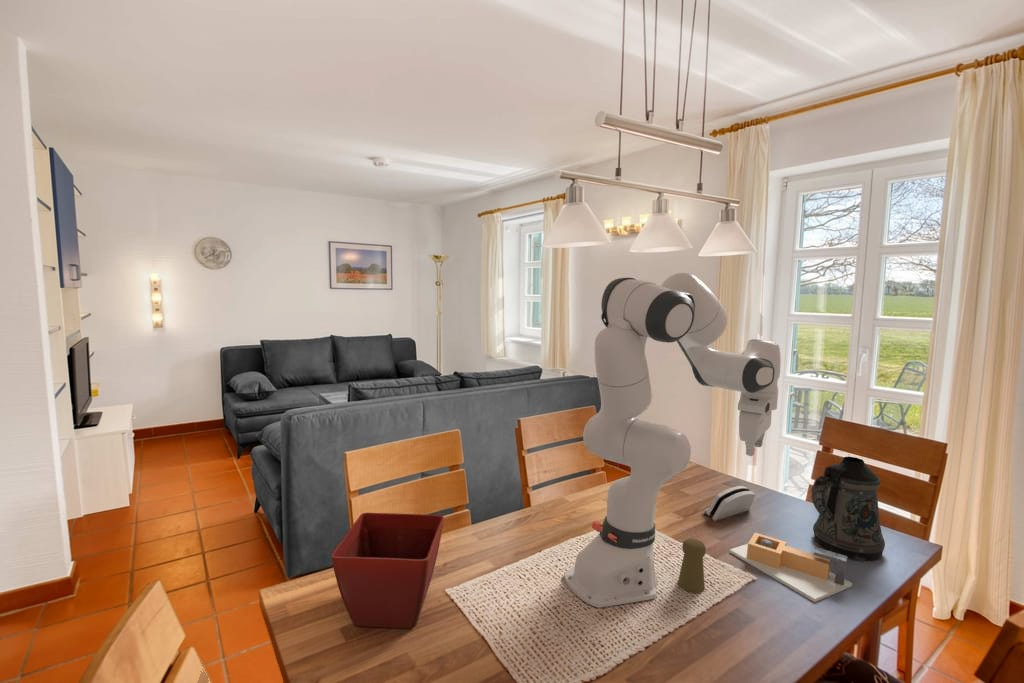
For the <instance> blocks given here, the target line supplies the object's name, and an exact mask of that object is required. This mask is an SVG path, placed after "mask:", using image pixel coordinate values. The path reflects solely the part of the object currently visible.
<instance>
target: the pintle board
mask: <svg viewBox="0 0 1024 683" xmlns="http://www.w3.org/2000/svg"><path fill="white" fill-rule="evenodd" d="M761 545H762V546H765V547H768V548H771V549H772V542H771V541H769V540H766V539H763V540H761ZM747 549H748V543H746V544H743V545H739V546H736V547H733V548H730V549H729V553H730V554H732V555H734V556H735V557H737V558H738V559H741V560H742V561H744V562H745V563H746V564H747V563H748V564H749V565H750V566H752V567H754V568H756V569H757V570H759V571H761V572H762V573H764V574H766V575H768V576H769V577H771V578H773V579H774V580H776V581H777V582H779V583H781V584H783V585H785V586H786V587H788V588H790V589H792V590H793V591H794V592H796V593H798V594H800V595H802V597H805V598H807V599H808V600H811V601H812V602H813V603H817V602H818V601H821V600H823V599H825V598H828V597H831V596H832V595H835V594H838V593H839V592H842V591H844V590H846V589H849V588H851V587H853V582H851V581H850V580H847V579H845V581H844V586H843V585H840V584H837V583H835V574H836V573H835V572H834V573H833V572H831V571H830V570H829V576H828V580H825V579H822V578H818V577H815V576H812V575H809V574H806V573H803V572H800V571H797V570H794V569H791V568H788V567H785V566H782V565H781V566H780V569H778V568H775V567H772V566H769V565H766V564H763V563H760V562H757V561H754V560H751V559H748V558H747Z"/></svg>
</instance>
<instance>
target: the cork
mask: <svg viewBox="0 0 1024 683" xmlns="http://www.w3.org/2000/svg"><path fill="white" fill-rule="evenodd" d="M706 548H707V547H706V545H705V544H704V542H703V541H701V540H700V539H697V538H685V539H684V541H683V542H682V549H681V550H682V552H683V553H684V554H683V557H682V558H683V559H682V562H681V566H680V567H681V568H680V571H679V576H678V580H677V585H678V586H679V588H681V589H682V590H684V591H685V590H686V592H688V593H691V592H692V593H691V594H700V593H703V592H704V591H705V588H706V587H705V586H706V585H705V572H704V557H705V555H706V552H707V551H706V550H707V549H706Z"/></svg>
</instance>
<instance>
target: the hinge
mask: <svg viewBox="0 0 1024 683" xmlns="http://www.w3.org/2000/svg"><path fill="white" fill-rule="evenodd" d="M755 497H756V494H755V493H754V491H751V490H750V488H748V487H746V486H742V485H737V486H734V487H730V488H727V489H726V490H724V491H721V492H719V493H718V494H716V496H714V499H713V500H712V501H711V504H710V505H709V507H708V508H705V509H703V511H702V515H706V514H707V515H708V516H711V517H712V520H713V521H715V522H716V521H720V520H722V519H726V518H729V517H732V516H735V515H738V514H742V513H745V512H748V511H750V510H751V507H752V504H753V502H754V500H755Z"/></svg>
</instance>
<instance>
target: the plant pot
mask: <svg viewBox="0 0 1024 683" xmlns="http://www.w3.org/2000/svg"><path fill="white" fill-rule="evenodd" d="M444 518H445V517H444V516H443V515H440V514H424V513H423V514H421V513H420V514H419V513H418V514H417V513H415V514H414V513H395V512H394V513H393V512H391V513H390V512H389V513H388V512H386V513H385V512H363V513H361V514H360V515H359V516H358V518H357V519H356V521H355V522H354V523H353V525H352V526H351V528H349V530H348V531H347V533H346V534H345V536H344V537H343V539H342V540H341V541H340V542H339V544H338V545H337V546H336V548H335V549H334V550H333V551H332V553H331V562H332V566H333V570H334V571H333V572H334V575H335V579H336V583H337V587H338V590H339V594H340V595H341V599H342V602H343V604H344V607H345V609H346V611H347V613H348V615H349V618H350V620H351V621H352V624H353V625H354V626H356V627H369V628H371V627H373V628H391V629H394V628H395V629H412V628H415V627H416V626H417V624H418V621H419V618H420V615H421V612H422V608H423V605H424V602H425V599H426V596H427V593H428V591H429V588H430V584H431V581H432V578H433V574H434V570H435V566H436V562H437V558H438V554H439V549H440V544H441V539H442V533H443V526H444Z"/></svg>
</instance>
